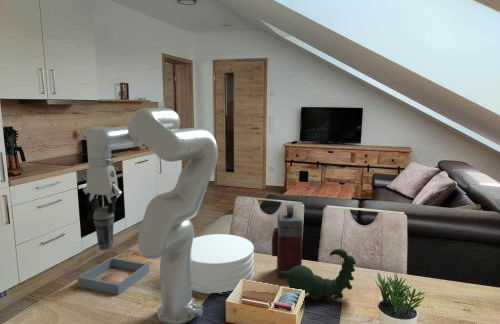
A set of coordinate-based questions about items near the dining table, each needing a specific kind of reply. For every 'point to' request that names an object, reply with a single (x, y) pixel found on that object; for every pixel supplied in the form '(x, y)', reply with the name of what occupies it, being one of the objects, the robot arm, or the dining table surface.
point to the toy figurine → (317, 285)
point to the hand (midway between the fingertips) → (103, 211)
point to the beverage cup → (104, 226)
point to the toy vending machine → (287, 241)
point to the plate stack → (220, 262)
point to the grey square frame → (113, 276)
